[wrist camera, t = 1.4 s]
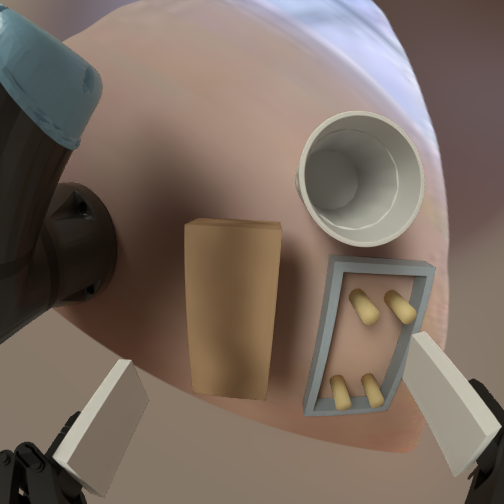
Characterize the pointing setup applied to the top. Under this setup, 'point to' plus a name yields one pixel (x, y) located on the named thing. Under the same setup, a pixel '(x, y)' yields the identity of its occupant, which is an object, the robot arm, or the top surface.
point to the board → (231, 304)
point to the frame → (369, 315)
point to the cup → (361, 179)
